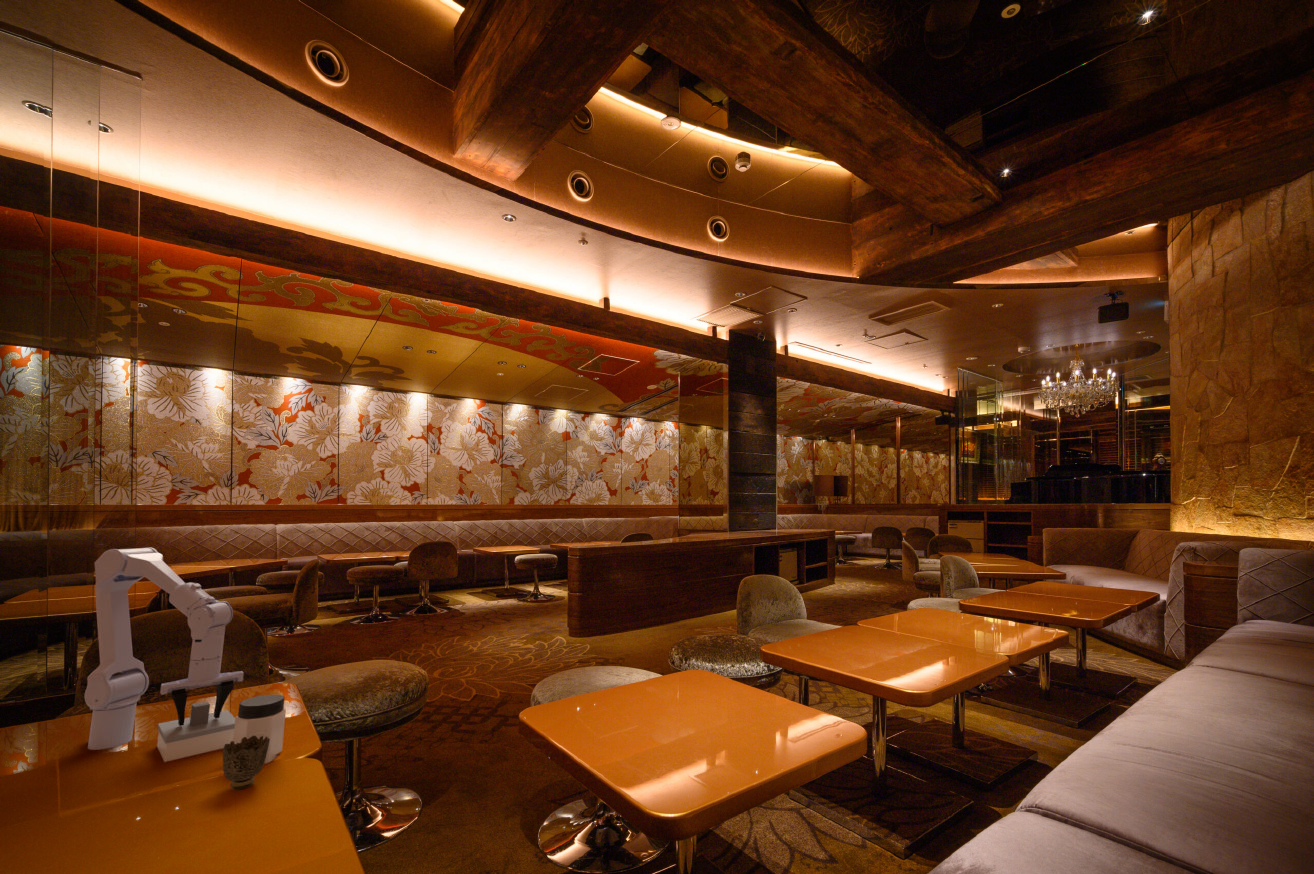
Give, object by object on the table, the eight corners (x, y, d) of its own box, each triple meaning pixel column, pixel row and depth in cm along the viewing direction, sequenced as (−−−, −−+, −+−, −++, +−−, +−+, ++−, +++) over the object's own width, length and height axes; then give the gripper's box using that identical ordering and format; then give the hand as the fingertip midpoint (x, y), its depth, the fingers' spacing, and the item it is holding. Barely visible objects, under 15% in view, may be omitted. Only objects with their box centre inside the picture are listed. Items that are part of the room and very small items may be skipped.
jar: (228, 771, 114) (235, 709, 116) (231, 757, 121) (238, 698, 123) (281, 761, 119) (287, 701, 121) (281, 748, 126) (286, 691, 127)
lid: (157, 728, 125) (160, 704, 126) (226, 714, 134) (229, 692, 135) (165, 743, 117) (168, 718, 117) (238, 727, 126) (241, 703, 127)
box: (156, 749, 125) (159, 728, 125) (223, 734, 133) (225, 714, 134) (164, 765, 116) (166, 742, 117) (234, 748, 125) (236, 727, 126)
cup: (228, 799, 102) (233, 753, 104) (210, 789, 106) (215, 744, 108) (273, 783, 109) (277, 739, 110) (255, 774, 113) (259, 732, 114)
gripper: (167, 666, 120) (158, 734, 118) (248, 654, 130) (242, 716, 128) (162, 661, 125) (154, 725, 123) (241, 650, 135) (235, 709, 133)
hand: (199, 720), depth 126 cm, fingers open, 6 cm apart
